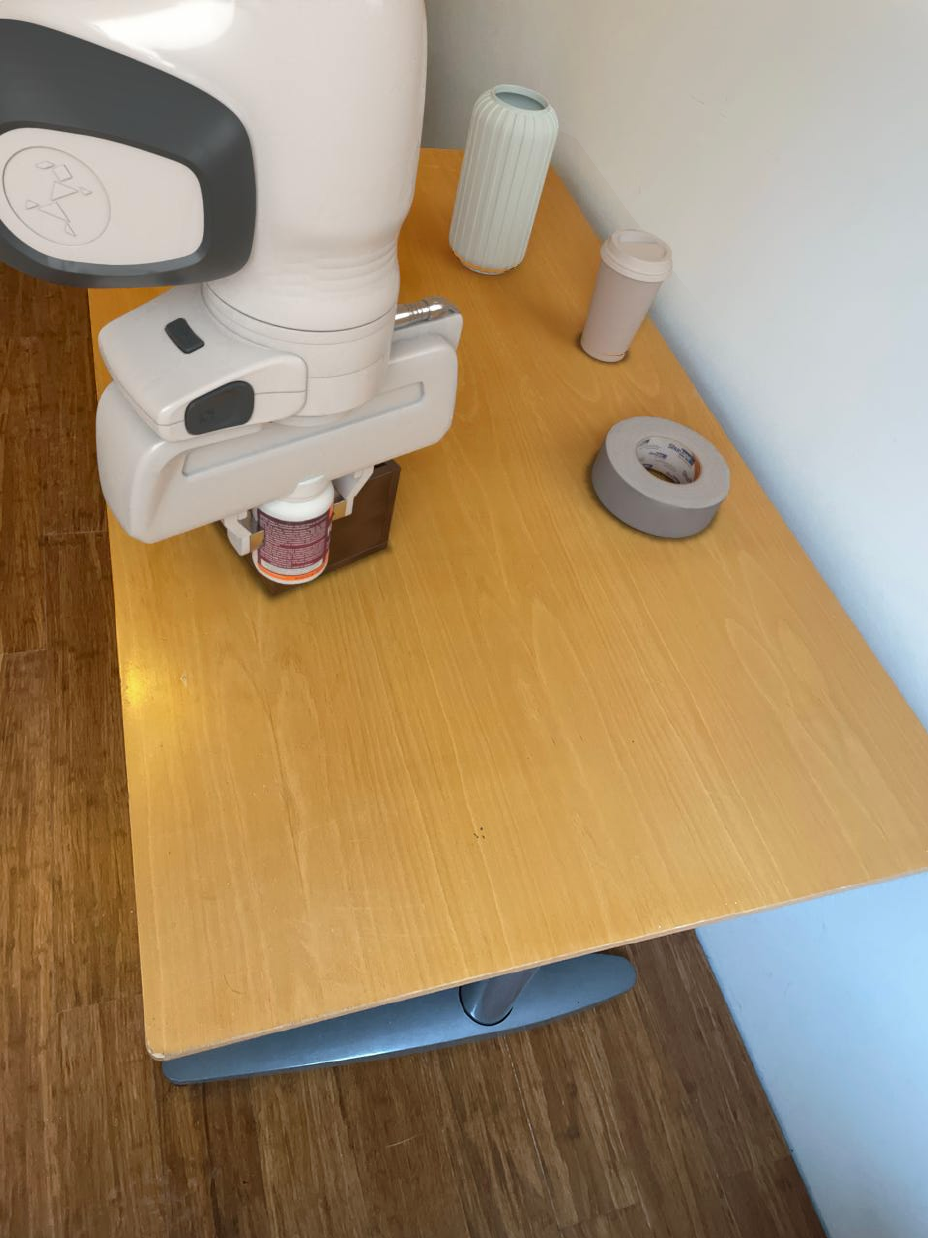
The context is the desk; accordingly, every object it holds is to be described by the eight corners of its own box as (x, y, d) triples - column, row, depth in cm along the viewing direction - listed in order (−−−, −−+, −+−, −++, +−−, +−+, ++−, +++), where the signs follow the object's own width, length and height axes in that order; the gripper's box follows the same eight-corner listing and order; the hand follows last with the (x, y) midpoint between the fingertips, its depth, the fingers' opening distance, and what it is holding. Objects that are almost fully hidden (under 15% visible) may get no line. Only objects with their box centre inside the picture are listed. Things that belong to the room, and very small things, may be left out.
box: (273, 596, 76) (275, 514, 68) (206, 507, 81) (200, 421, 73) (386, 548, 83) (401, 467, 74) (317, 468, 88) (324, 384, 79)
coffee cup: (634, 336, 117) (675, 235, 106) (636, 375, 111) (680, 273, 100) (569, 320, 116) (604, 217, 105) (569, 359, 110) (605, 254, 99)
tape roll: (727, 485, 101) (747, 454, 97) (692, 559, 91) (711, 528, 87) (616, 430, 103) (631, 397, 99) (570, 496, 93) (584, 463, 89)
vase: (430, 256, 119) (460, 89, 102) (470, 231, 126) (504, 70, 109) (497, 291, 117) (538, 126, 100) (533, 263, 124) (578, 104, 107)
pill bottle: (341, 572, 52) (353, 475, 46) (272, 596, 50) (274, 498, 43) (306, 522, 54) (313, 422, 48) (239, 543, 52) (236, 442, 45)
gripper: (433, 259, 46) (399, 448, 56) (59, 338, 35) (105, 550, 46) (503, 322, 43) (453, 507, 54) (122, 426, 33) (155, 629, 44)
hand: (290, 528), depth 50 cm, fingers closed on pill bottle, 5 cm apart
